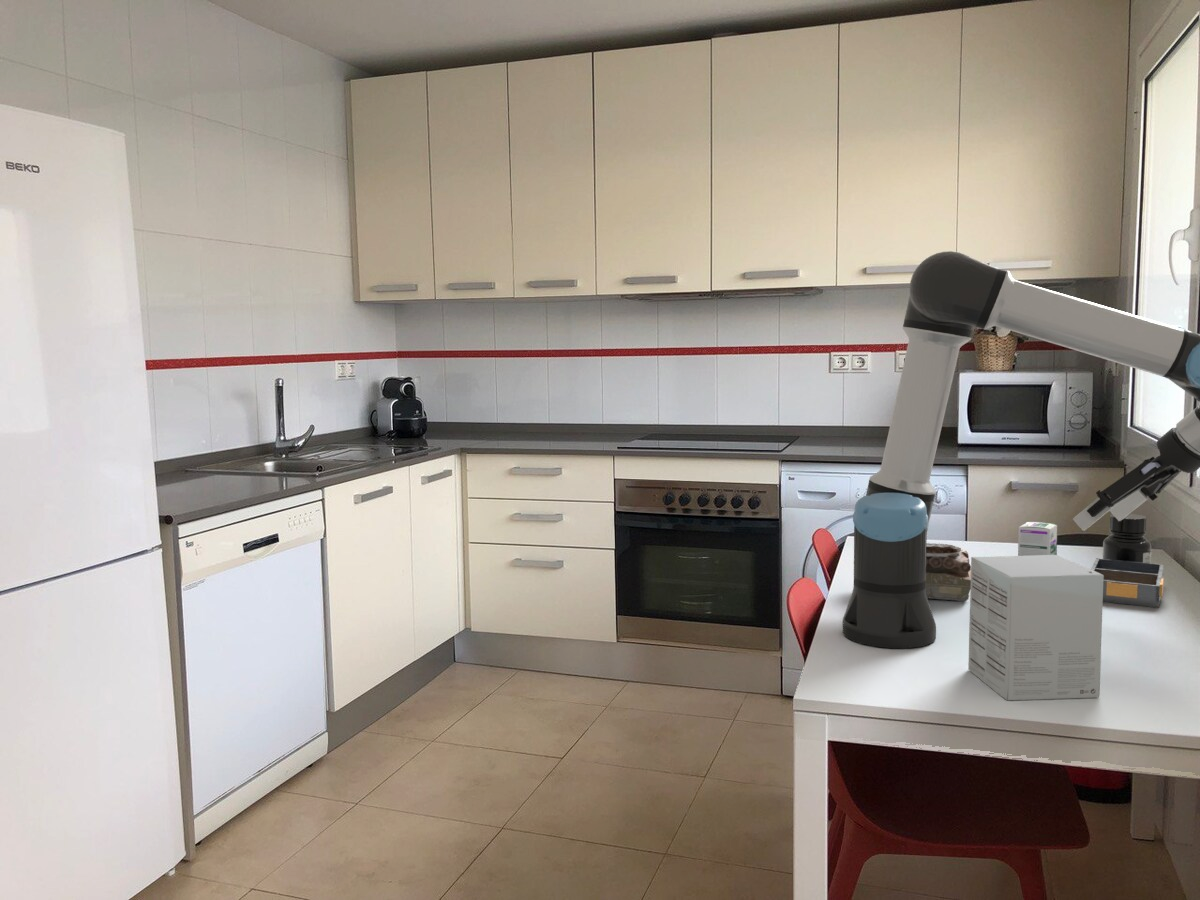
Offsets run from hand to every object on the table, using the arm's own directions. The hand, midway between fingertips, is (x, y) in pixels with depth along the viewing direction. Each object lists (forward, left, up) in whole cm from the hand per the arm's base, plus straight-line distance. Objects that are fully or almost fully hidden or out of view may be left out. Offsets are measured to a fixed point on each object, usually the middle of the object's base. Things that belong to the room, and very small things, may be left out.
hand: (1096, 519), depth 171 cm
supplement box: (-45, +4, -17) cm, 49 cm away
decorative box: (-5, +30, -17) cm, 35 cm away
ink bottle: (+36, -3, -17) cm, 40 cm away
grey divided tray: (+18, -4, -17) cm, 25 cm away
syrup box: (+4, +10, -17) cm, 20 cm away
